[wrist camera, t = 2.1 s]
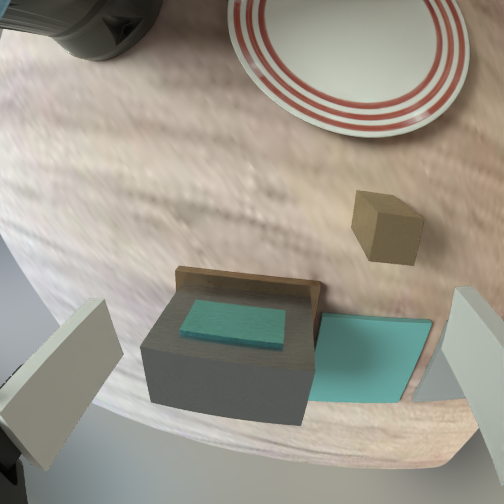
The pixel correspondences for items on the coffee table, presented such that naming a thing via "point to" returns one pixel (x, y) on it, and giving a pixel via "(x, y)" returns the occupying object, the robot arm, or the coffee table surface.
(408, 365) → the teal pad
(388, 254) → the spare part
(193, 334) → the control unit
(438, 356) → the grey pad
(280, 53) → the dinner plate
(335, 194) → the coffee table surface
